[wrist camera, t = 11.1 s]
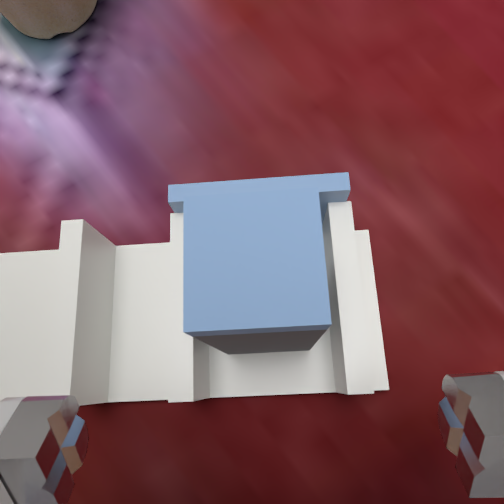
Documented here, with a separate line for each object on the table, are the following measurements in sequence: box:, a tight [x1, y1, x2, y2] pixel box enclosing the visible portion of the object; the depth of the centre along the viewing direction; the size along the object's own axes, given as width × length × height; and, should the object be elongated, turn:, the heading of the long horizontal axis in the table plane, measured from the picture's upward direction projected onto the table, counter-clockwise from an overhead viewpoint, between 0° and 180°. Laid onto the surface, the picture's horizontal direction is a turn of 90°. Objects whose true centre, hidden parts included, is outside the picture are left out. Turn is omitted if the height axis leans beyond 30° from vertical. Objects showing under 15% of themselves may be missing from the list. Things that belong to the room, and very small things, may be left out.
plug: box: [183, 187, 332, 355], centre depth 17 cm, size 4×4×10 cm
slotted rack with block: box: [0, 172, 389, 406], centre depth 20 cm, size 23×9×6 cm, turn 93°
